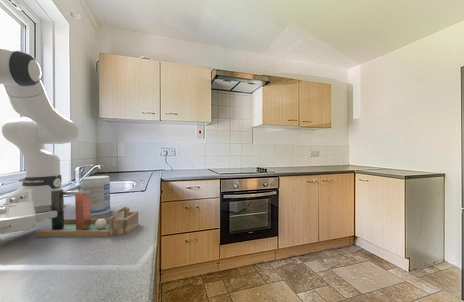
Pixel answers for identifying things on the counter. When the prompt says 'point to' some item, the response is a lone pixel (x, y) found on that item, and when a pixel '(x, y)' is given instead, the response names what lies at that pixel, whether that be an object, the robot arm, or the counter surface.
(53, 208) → the pillars with crossbar
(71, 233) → the tray
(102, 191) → the supplement tub
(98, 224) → the ball
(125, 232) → the wooden frame
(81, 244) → the counter surface
